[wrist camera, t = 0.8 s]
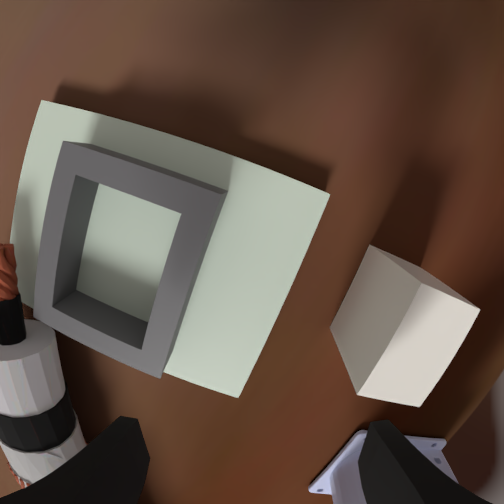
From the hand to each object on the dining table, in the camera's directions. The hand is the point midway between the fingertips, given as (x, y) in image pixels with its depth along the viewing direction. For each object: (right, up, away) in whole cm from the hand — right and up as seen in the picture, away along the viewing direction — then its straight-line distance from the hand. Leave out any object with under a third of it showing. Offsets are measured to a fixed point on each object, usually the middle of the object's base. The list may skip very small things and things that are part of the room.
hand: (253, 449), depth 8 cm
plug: (+7, +4, +8) cm, 11 cm away
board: (-6, +6, +8) cm, 12 cm away
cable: (-14, -9, +12) cm, 21 cm away
